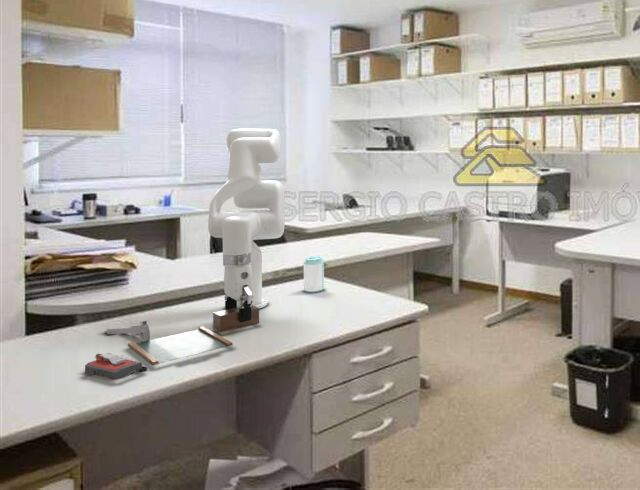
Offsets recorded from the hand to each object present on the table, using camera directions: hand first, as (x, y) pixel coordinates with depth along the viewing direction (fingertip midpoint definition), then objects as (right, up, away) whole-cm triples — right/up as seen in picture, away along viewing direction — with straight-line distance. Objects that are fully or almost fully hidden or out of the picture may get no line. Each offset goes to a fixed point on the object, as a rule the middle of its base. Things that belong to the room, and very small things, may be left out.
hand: (238, 316), depth 167 cm
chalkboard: (-7, -3, -18) cm, 20 cm away
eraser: (0, -3, -2) cm, 4 cm away
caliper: (-26, -4, -10) cm, 28 cm away
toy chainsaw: (-15, -4, -33) cm, 37 cm away
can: (+8, -3, +43) cm, 43 cm away
